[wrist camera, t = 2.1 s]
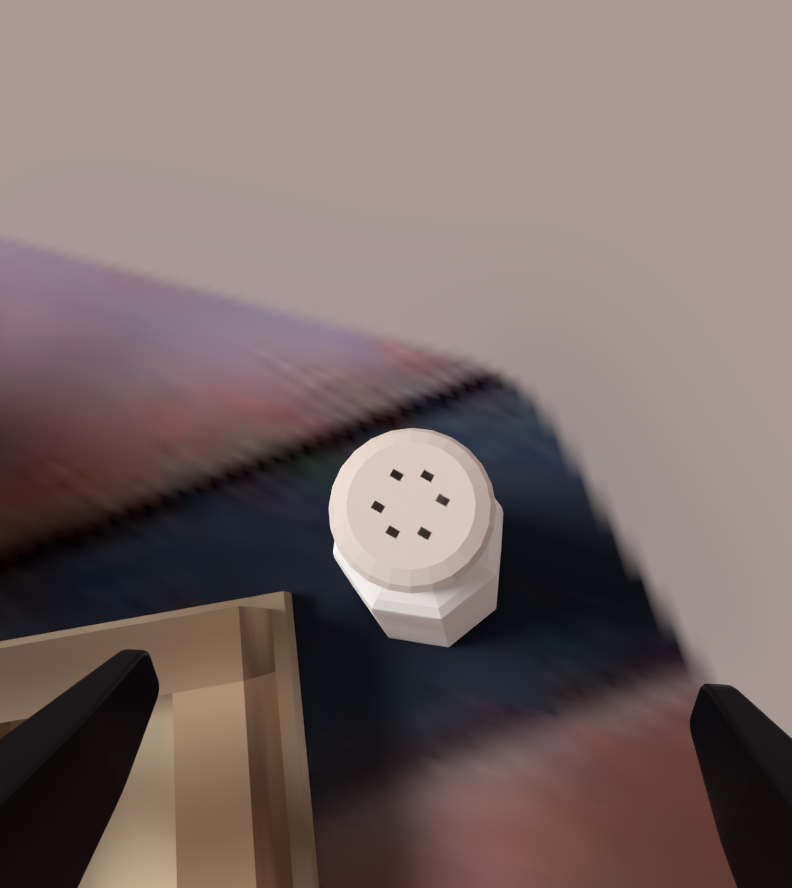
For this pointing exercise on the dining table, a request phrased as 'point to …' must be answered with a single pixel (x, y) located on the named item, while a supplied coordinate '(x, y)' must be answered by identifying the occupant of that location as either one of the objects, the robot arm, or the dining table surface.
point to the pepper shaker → (418, 534)
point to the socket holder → (194, 745)
